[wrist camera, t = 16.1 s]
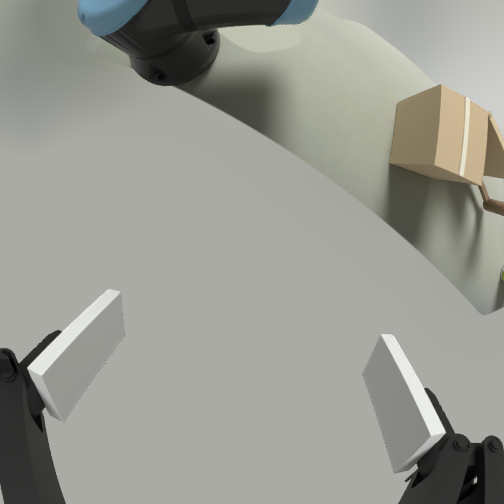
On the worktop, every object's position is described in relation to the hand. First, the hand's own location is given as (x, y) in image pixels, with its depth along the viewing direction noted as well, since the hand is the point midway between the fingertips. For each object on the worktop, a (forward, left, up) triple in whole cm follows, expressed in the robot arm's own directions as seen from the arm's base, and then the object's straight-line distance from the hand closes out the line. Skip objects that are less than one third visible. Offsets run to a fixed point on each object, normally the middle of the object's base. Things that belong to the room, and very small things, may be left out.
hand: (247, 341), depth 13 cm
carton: (+3, +30, -32) cm, 44 cm away
